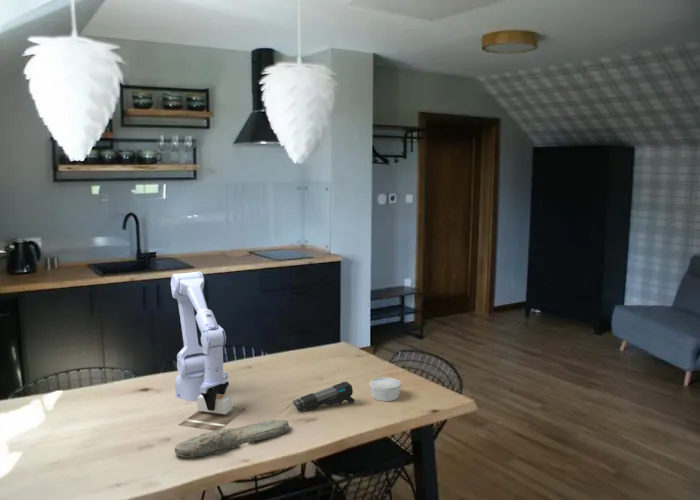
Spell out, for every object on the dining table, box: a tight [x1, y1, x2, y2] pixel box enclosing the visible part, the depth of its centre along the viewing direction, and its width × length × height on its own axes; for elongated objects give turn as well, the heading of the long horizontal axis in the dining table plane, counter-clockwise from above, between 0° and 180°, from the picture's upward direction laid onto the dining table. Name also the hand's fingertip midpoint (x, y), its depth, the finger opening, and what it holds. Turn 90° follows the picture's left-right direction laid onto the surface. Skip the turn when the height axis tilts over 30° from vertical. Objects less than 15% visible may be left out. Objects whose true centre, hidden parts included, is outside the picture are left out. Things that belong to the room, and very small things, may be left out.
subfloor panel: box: [178, 406, 247, 431], centre depth 190 cm, size 14×18×1 cm
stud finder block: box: [196, 394, 234, 414], centre depth 192 cm, size 10×4×5 cm, turn 73°
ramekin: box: [368, 377, 402, 402], centre depth 210 cm, size 11×11×5 cm
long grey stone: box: [174, 419, 290, 459], centre depth 174 cm, size 35×5×10 cm
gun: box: [292, 381, 356, 413], centre depth 201 cm, size 4×20×10 cm, turn 113°
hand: (215, 407), depth 193 cm, fingers closed on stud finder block, 4 cm apart
